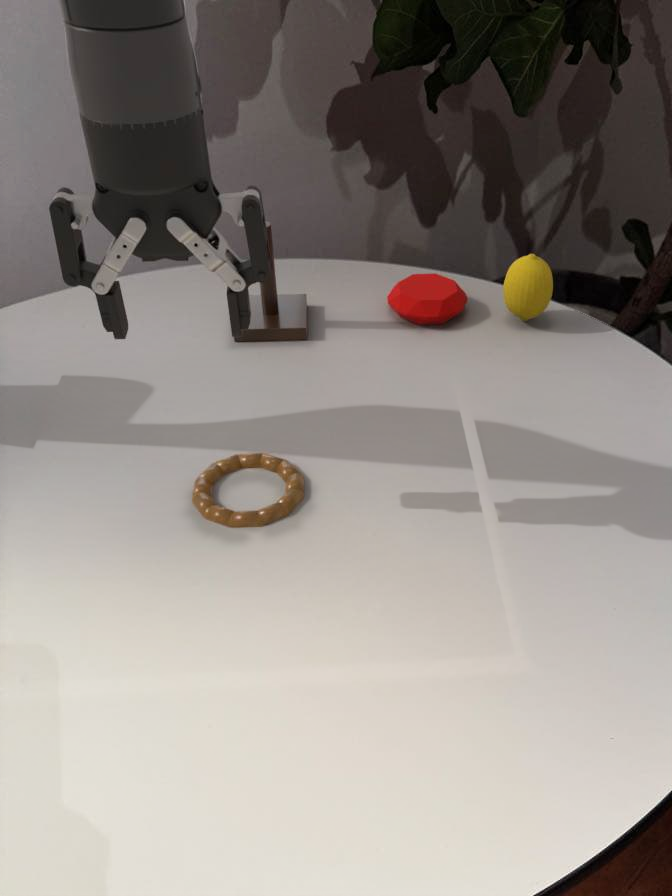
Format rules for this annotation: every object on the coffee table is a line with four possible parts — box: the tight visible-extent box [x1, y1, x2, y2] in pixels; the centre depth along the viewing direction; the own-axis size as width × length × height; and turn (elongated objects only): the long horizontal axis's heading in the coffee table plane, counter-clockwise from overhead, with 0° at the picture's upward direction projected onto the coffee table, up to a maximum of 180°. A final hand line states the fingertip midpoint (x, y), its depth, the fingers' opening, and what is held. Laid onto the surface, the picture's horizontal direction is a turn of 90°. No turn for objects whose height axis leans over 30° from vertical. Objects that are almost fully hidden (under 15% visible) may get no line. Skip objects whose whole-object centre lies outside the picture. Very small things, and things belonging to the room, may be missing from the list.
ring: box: [191, 452, 305, 529], centre depth 76 cm, size 10×10×2 cm
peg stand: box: [233, 220, 308, 343], centre depth 96 cm, size 8×8×12 cm
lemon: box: [502, 253, 554, 322], centre depth 98 cm, size 6×6×8 cm
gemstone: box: [386, 272, 468, 326], centre depth 101 cm, size 9×9×3 cm
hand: (180, 333), depth 65 cm, fingers open, 8 cm apart
